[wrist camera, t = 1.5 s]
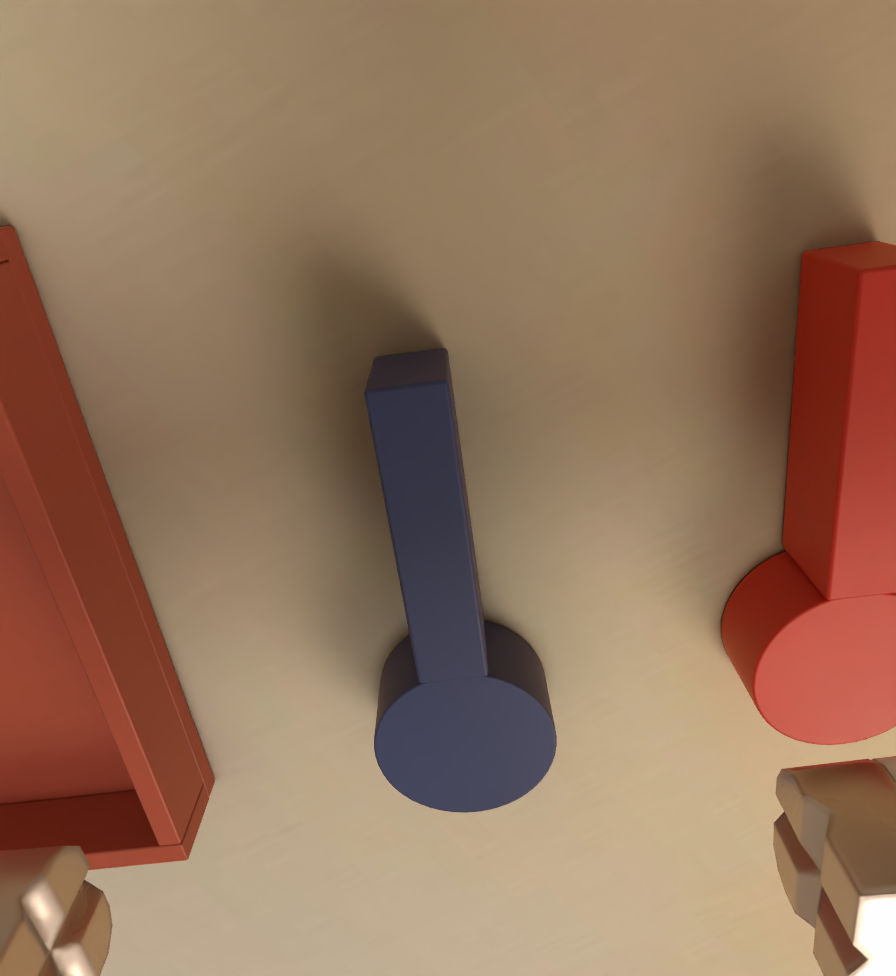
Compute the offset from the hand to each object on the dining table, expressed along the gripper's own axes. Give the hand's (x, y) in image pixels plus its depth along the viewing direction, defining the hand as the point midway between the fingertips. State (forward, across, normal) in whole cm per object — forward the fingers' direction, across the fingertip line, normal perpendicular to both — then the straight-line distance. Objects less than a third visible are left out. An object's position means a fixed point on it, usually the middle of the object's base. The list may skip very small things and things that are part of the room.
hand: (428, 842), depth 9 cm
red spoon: (+10, -9, +1) cm, 13 cm away
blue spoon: (+10, 0, +2) cm, 10 cm away
